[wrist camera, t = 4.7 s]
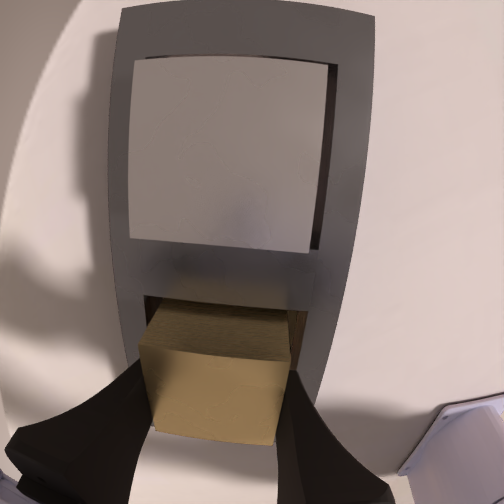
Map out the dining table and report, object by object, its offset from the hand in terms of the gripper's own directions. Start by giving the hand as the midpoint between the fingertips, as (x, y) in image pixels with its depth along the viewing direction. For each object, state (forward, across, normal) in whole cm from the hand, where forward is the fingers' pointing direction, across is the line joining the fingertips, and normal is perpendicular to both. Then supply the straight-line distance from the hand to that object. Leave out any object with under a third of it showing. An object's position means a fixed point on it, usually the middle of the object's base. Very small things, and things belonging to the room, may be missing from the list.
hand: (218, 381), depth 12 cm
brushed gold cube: (+3, 0, 0) cm, 3 cm away
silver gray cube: (+3, 0, -9) cm, 10 cm away
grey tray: (+3, 0, -4) cm, 6 cm away
